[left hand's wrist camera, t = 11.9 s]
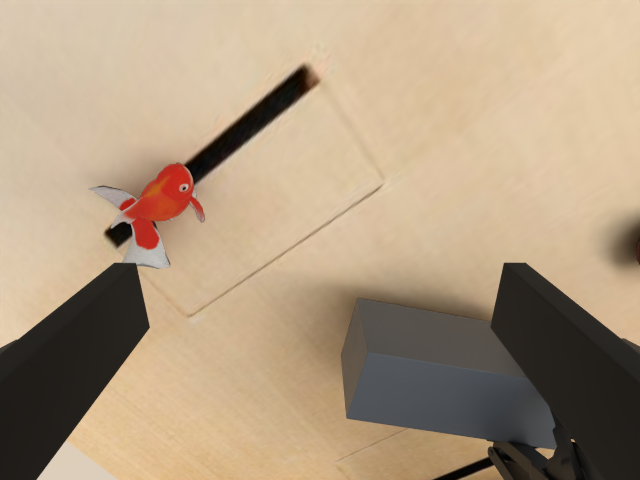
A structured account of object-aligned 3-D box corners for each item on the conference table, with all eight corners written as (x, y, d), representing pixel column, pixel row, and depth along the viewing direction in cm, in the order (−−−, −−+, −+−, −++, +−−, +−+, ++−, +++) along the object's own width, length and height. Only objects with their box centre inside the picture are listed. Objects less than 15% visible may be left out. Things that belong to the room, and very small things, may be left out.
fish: (248, 234, 39) (169, 259, 31) (174, 268, 48) (97, 295, 40) (211, 143, 39) (121, 144, 30) (143, 195, 48) (59, 207, 39)
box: (340, 355, 45) (346, 418, 36) (357, 297, 42) (367, 352, 33) (509, 382, 47) (554, 449, 38) (538, 329, 44) (594, 389, 35)
